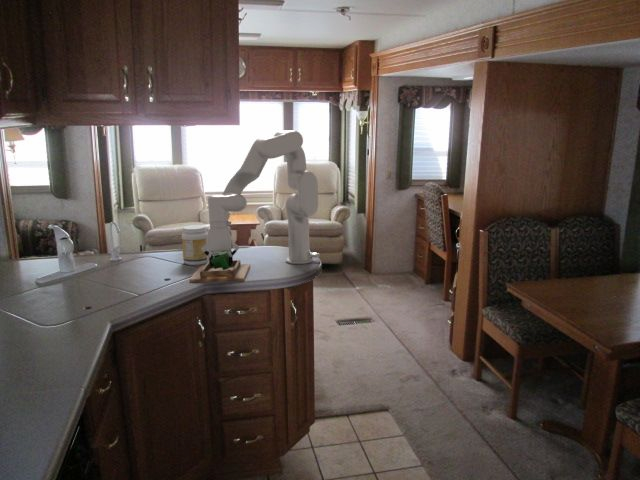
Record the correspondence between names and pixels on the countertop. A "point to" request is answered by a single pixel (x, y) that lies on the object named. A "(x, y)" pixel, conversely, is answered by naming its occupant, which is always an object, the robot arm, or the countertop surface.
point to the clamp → (221, 260)
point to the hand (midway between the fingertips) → (221, 265)
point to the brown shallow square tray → (221, 273)
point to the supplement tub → (194, 244)
